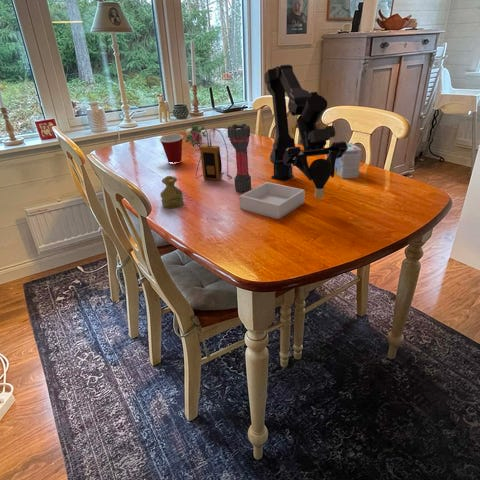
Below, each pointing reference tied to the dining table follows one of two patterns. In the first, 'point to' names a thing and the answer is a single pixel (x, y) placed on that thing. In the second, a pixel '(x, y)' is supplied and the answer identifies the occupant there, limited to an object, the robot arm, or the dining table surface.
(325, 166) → the light bulb
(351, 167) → the light bulb box
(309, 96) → the robot arm
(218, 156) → the multimeter
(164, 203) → the brown money bag
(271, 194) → the parts tray
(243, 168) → the flashlight
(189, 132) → the flower vase
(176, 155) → the plastic cup
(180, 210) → the dining table surface
